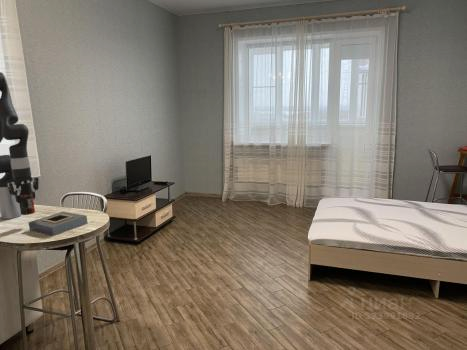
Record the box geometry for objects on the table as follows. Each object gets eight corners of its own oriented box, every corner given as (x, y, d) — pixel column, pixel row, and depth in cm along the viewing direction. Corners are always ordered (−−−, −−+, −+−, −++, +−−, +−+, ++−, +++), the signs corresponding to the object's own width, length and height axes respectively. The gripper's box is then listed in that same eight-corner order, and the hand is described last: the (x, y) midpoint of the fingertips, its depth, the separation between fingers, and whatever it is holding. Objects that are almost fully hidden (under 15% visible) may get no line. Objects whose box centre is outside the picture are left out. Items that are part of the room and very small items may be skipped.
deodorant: (28, 215, 164) (23, 184, 161) (18, 214, 165) (13, 184, 162) (37, 211, 170) (33, 181, 167) (27, 210, 171) (22, 181, 168)
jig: (29, 230, 162) (28, 221, 161) (64, 218, 178) (63, 210, 177) (53, 235, 154) (51, 226, 153) (87, 223, 169) (86, 214, 168)
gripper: (31, 163, 171) (36, 196, 174) (0, 169, 158) (6, 204, 162) (40, 164, 167) (45, 198, 171) (9, 170, 155) (15, 206, 158)
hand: (26, 200), depth 166 cm, fingers closed on deodorant, 6 cm apart
